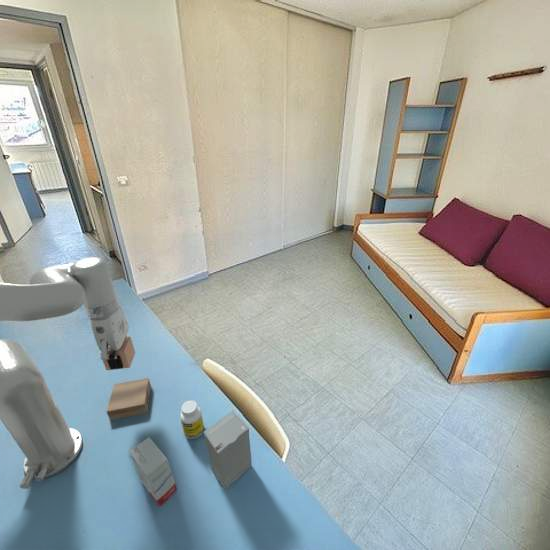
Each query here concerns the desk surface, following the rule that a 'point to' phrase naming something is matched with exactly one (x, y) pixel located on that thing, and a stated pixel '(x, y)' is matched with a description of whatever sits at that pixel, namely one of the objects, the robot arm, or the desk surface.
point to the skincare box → (228, 448)
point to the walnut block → (129, 399)
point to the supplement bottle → (191, 420)
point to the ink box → (154, 470)
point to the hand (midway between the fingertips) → (120, 358)
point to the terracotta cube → (123, 353)
